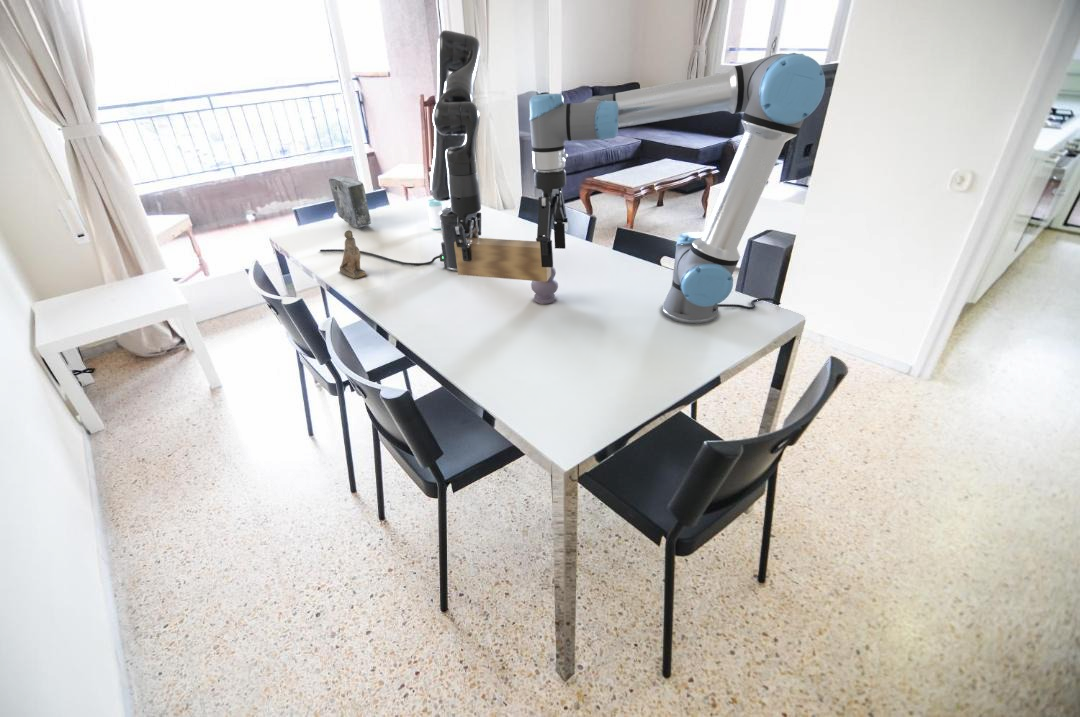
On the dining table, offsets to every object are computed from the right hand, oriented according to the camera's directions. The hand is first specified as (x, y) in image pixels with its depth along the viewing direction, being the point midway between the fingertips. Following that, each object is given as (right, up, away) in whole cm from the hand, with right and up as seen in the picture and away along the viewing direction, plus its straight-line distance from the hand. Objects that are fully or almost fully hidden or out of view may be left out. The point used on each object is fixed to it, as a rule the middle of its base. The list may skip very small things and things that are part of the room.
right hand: (554, 257), depth 126 cm
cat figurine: (-2, -8, +28) cm, 29 cm away
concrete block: (-89, +36, +105) cm, 142 cm away
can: (-49, +33, +97) cm, 114 cm away
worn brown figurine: (-71, +5, +52) cm, 88 cm away
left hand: (-22, +1, +6) cm, 23 cm away
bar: (-13, -3, +6) cm, 15 cm away
